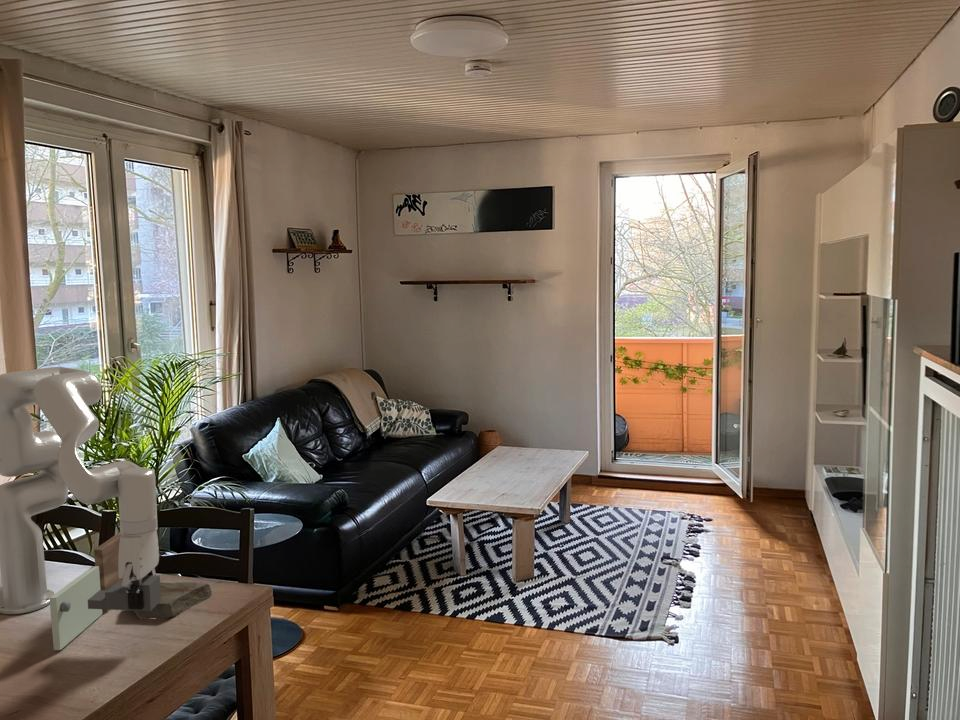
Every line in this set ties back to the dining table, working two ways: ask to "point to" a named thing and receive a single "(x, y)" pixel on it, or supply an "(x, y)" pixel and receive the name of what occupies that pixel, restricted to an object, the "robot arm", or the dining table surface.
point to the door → (74, 607)
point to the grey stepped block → (119, 597)
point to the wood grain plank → (108, 563)
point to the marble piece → (177, 599)
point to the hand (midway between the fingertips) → (142, 601)
